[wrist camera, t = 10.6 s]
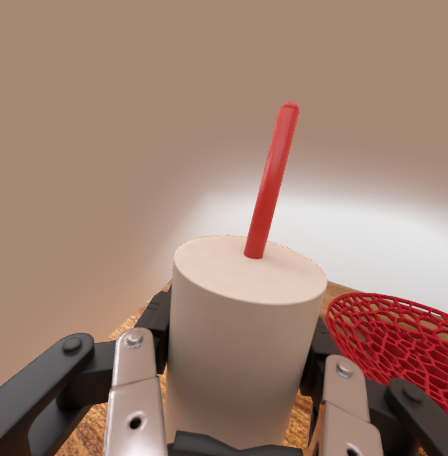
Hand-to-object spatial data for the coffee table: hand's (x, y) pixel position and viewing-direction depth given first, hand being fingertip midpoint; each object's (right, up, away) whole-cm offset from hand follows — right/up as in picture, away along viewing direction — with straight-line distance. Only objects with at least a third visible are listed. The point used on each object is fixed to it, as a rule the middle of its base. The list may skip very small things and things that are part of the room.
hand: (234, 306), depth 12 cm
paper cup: (-1, -6, -1) cm, 6 cm away
